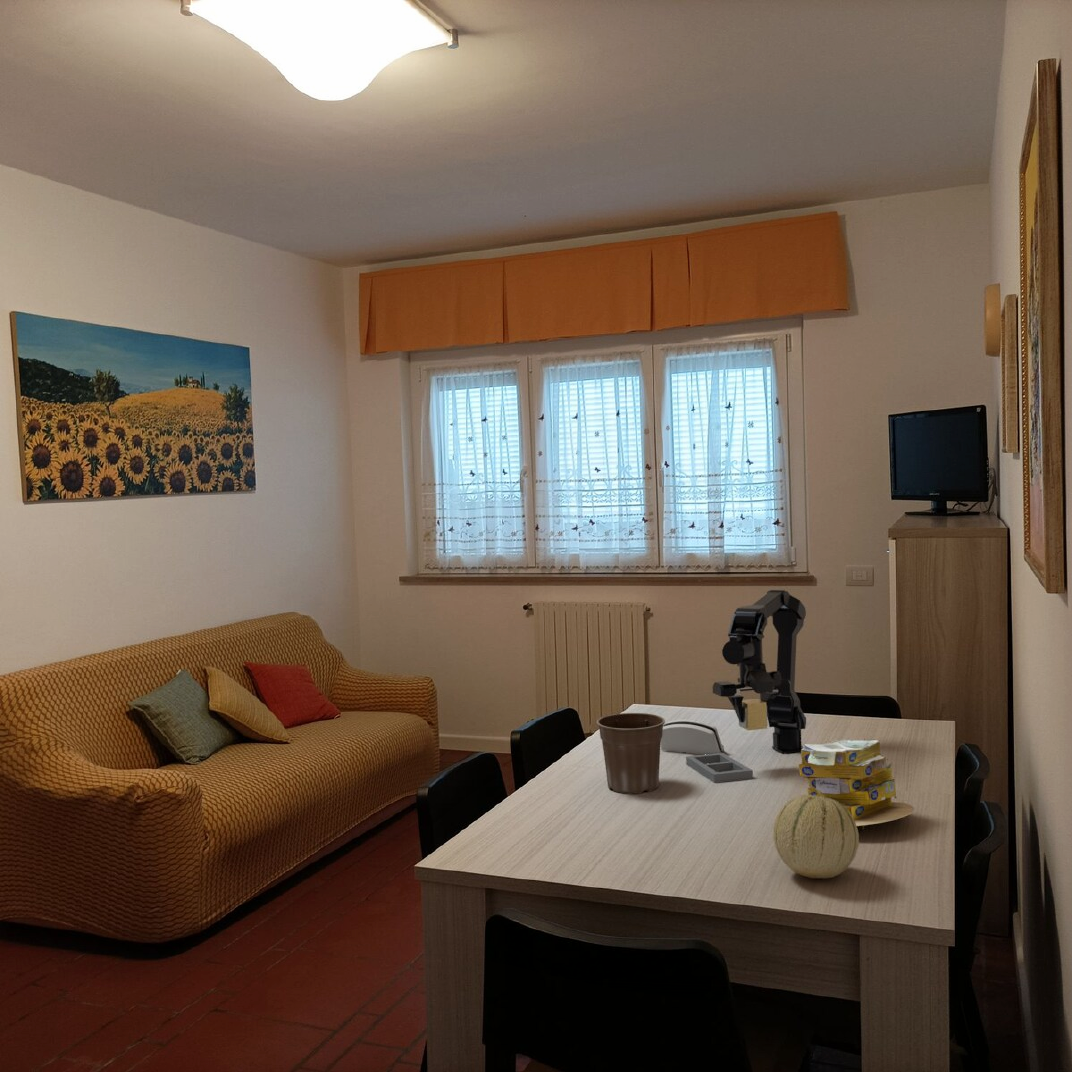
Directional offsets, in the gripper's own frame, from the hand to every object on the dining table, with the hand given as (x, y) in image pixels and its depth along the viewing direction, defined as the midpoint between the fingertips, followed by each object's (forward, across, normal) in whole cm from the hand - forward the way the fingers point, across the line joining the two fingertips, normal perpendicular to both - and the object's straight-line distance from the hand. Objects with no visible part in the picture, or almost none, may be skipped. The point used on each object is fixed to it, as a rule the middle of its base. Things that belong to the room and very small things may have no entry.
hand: (752, 721), depth 254 cm
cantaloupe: (+13, -20, -67) cm, 71 cm away
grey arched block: (+13, -7, +23) cm, 27 cm away
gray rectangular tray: (+12, -8, +3) cm, 15 cm away
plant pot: (+13, -32, -2) cm, 35 cm away
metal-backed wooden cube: (+2, 0, 0) cm, 2 cm away
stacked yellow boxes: (+13, +1, -42) cm, 44 cm away
